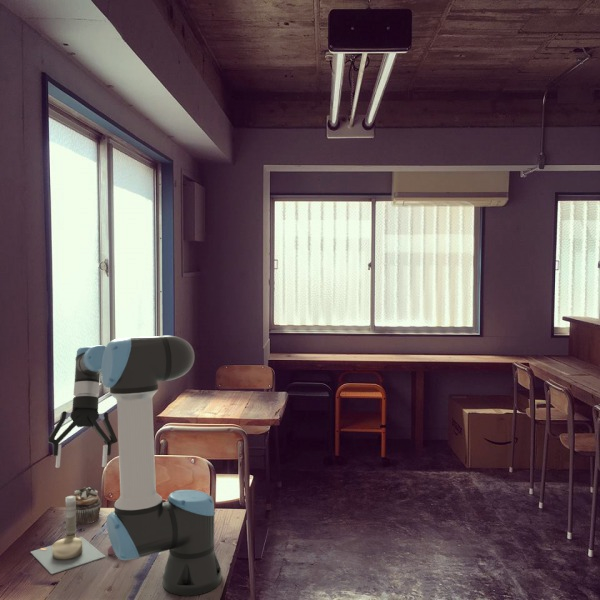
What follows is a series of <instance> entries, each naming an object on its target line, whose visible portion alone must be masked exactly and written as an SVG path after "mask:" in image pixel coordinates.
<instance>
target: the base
mask: <svg viewBox="0 0 600 600" xmlns="http://www.w3.org/2000/svg"><path fill="white" fill-rule="evenodd" d="M77 538H79V539H81V540H82V553H81V554H80V555H79V556H77V557H74V558H71V559H65V560H60V559H55V558H54V557H53V554H52V545H53V544H52V545H48V546H45V547H40V548H38V549H35V550H31V551H30V554H31V555H32V556H33V557H34V558H35V559H36V560H37V561H38V563H39V564H41V566H43V568H44V569H45V570H46V571H47V572H48V573H49V574H50V575H51V576H52V575H56V574H60V573H62V572H64V571H65V572H66V571H68V570H72V569H74V568H78V567H80V566H84V565H87V564H90V563H92V562H95V561H99V560H102V559H105V558H106V555H104V554H103V553H102V552H101V551H100V550H99V549H97V548H96V547H95V546H94V545H92V544H91V542H89V541H88V540H87V539H85V538H84V537H83V536H79V537H77Z"/></svg>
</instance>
